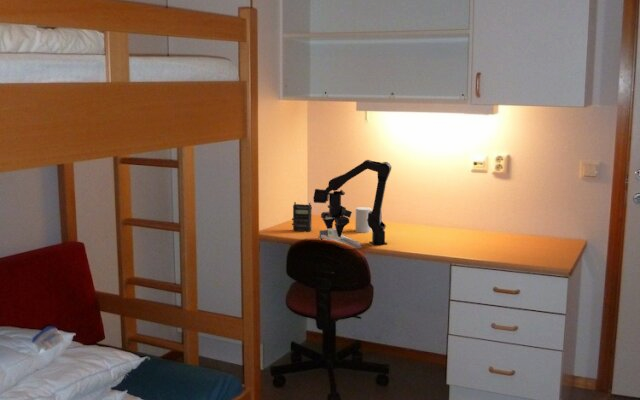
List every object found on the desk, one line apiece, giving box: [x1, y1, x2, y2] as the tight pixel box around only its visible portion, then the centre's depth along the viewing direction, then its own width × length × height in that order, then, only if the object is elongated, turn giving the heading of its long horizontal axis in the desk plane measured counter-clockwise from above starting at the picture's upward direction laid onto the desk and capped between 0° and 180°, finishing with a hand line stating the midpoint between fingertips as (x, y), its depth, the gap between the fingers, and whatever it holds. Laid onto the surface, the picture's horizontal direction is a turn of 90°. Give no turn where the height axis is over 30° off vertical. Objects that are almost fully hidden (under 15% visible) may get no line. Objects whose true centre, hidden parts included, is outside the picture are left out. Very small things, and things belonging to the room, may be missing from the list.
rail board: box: [317, 229, 363, 249], centre depth 347 cm, size 26×10×4 cm, turn 27°
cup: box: [355, 206, 372, 234], centre depth 374 cm, size 8×8×12 cm
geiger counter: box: [291, 201, 313, 233], centre depth 373 cm, size 10×4×15 cm, turn 77°
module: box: [327, 227, 343, 240], centre depth 351 cm, size 5×5×5 cm
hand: (334, 235), depth 351 cm, fingers open, 9 cm apart
